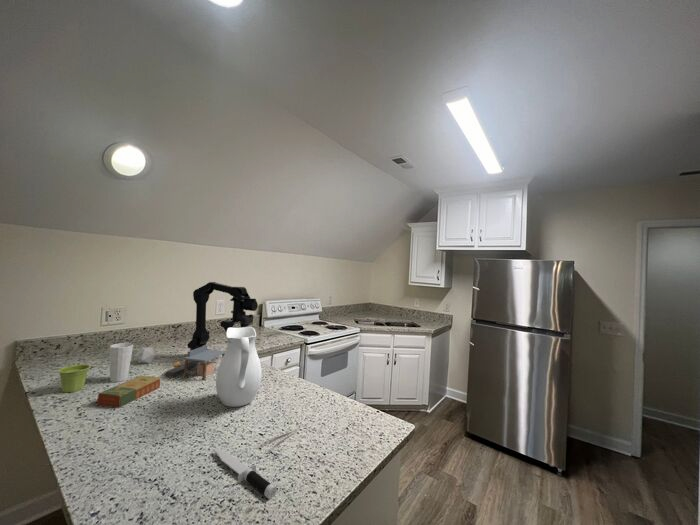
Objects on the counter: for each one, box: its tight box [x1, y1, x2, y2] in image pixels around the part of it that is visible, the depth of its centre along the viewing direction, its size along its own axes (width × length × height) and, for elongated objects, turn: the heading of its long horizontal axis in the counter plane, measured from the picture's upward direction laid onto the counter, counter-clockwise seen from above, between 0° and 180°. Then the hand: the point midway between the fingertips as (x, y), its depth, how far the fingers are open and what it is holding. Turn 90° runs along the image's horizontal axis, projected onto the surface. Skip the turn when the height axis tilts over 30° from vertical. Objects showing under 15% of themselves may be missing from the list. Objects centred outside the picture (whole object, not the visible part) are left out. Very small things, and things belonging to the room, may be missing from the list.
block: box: [196, 361, 214, 377], centre depth 137 cm, size 5×5×5 cm
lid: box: [183, 344, 226, 362], centre depth 137 cm, size 11×16×3 cm
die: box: [134, 346, 156, 365], centre depth 148 cm, size 8×9×10 cm
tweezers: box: [258, 428, 299, 454], centre depth 87 cm, size 18×5×2 cm, turn 146°
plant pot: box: [57, 364, 91, 394], centre depth 113 cm, size 9×9×9 cm
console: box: [165, 362, 200, 378], centre depth 139 cm, size 5×16×2 cm, turn 169°
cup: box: [108, 342, 134, 383], centre depth 125 cm, size 8×8×16 cm
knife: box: [212, 448, 278, 500], centre depth 71 cm, size 26×2×5 cm
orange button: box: [173, 362, 182, 368], centre depth 135 cm, size 3×3×1 cm
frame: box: [183, 353, 225, 381], centre depth 137 cm, size 11×15×8 cm
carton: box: [96, 375, 161, 409], centre depth 110 cm, size 10×18×5 cm, turn 173°
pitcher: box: [215, 326, 263, 408], centre depth 107 cm, size 24×17×28 cm
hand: (236, 337), depth 155 cm, fingers open, 9 cm apart
